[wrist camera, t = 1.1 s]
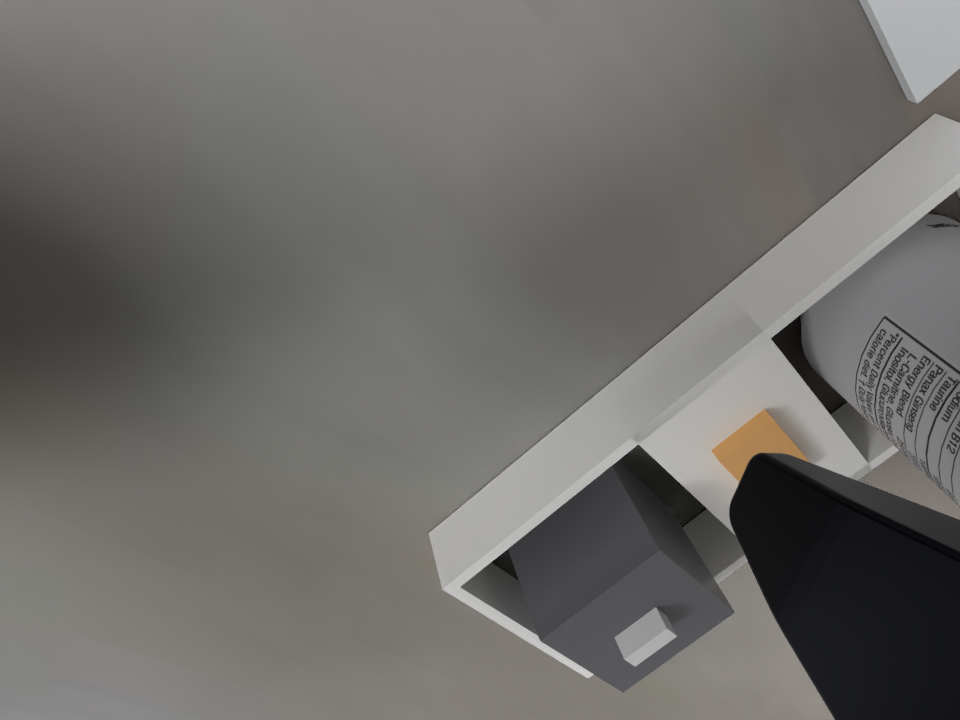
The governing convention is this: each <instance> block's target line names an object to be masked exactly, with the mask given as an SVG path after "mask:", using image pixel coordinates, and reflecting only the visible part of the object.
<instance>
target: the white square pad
mask: <svg viewBox="0 0 960 720" xmlns="http://www.w3.org/2000/svg"><path fill="white" fill-rule="evenodd" d="M859 1H860V3H861V5H862V7H863V9H864V11H865V13H866V16H867V18H868V20H869V22H870V24H871V26H872V28H873V30H874V32H875V34H876V36H877V38H878V40H879V42H880V44H881V46H882V48H883V50H884V52H885V54H886V57H887V59H888V61H889V63H890V65H891V67H892V69H893V71H894V73H895V75H896V77H897V79H898V81H899V83H900V85H901V87H902V89H903V91H904V93H905V95H906V98H907V100H909V101H911V102H914V103H917V104H918V103H919V102H920V101H921V100H923V99H924V98H925V97H926V96H927V95H929V94H930V93H931V92H932V91H933V90H935V89H936V88H937V87H938V86H939V85H941V84H942V83H943V82H944V81H945V80H947V79H948V78H949V77H950V76H951V75H953V74H954V73H955V72H956V71H957V70H958V69H960V0H859Z"/></svg>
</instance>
